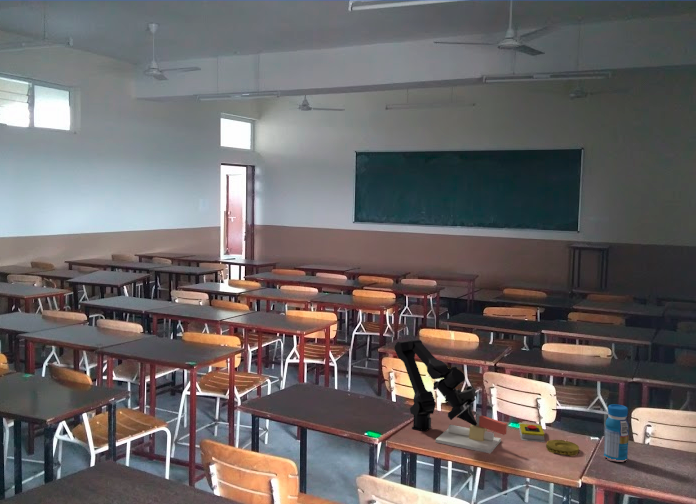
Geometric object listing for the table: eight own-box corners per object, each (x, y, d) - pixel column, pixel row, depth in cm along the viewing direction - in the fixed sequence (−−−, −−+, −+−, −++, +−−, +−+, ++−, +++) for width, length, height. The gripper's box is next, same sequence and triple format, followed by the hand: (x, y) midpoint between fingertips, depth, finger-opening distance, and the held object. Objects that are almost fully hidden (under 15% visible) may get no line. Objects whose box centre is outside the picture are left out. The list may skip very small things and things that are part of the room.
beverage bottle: (603, 461, 232) (605, 408, 231) (603, 453, 240) (605, 402, 239) (628, 465, 229) (631, 411, 228) (627, 457, 237) (629, 405, 236)
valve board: (435, 442, 248) (435, 426, 248) (448, 431, 261) (448, 416, 261) (490, 453, 237) (490, 437, 237) (500, 441, 251) (501, 426, 250)
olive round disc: (547, 443, 250) (547, 437, 250) (579, 447, 246) (579, 442, 246) (545, 453, 239) (545, 448, 239) (578, 458, 235) (578, 453, 235)
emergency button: (521, 430, 252) (518, 419, 267) (521, 441, 252) (518, 429, 267) (545, 432, 250) (541, 420, 265) (545, 443, 251) (541, 431, 265)
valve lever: (474, 424, 250) (474, 414, 250) (478, 423, 252) (478, 413, 251) (503, 434, 239) (503, 424, 239) (506, 433, 240) (507, 423, 240)
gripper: (456, 386, 238) (484, 420, 233) (471, 375, 254) (497, 406, 250) (436, 403, 242) (462, 436, 237) (452, 391, 258) (477, 422, 254)
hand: (475, 424), depth 244 cm, fingers closed
